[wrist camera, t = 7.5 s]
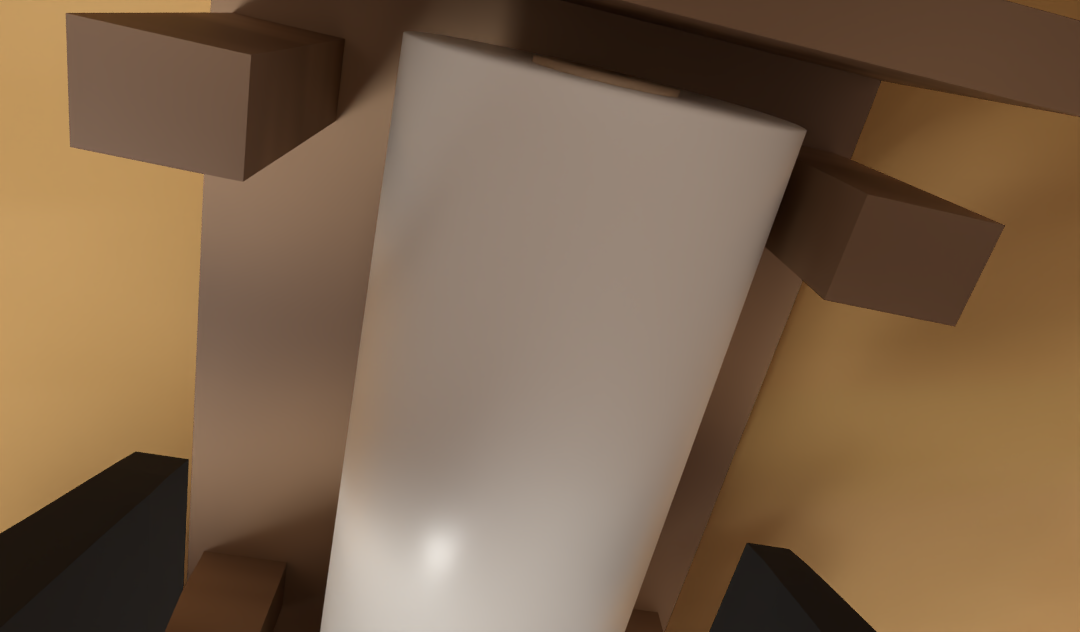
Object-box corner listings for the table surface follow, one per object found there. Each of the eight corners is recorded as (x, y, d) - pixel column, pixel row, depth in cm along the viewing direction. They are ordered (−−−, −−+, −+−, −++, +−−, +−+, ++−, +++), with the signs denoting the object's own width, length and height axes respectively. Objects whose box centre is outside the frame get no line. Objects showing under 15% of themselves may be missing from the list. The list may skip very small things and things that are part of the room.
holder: (625, 685, 17) (671, 933, 12) (198, 634, 16) (73, 889, 11) (877, 25, 11) (1130, 34, 7) (238, -142, 10) (16, -272, 5)
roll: (554, 655, 16) (578, 909, 11) (333, 629, 15) (266, 890, 10) (732, 94, 11) (893, 152, 7) (424, 21, 10) (373, 30, 6)
